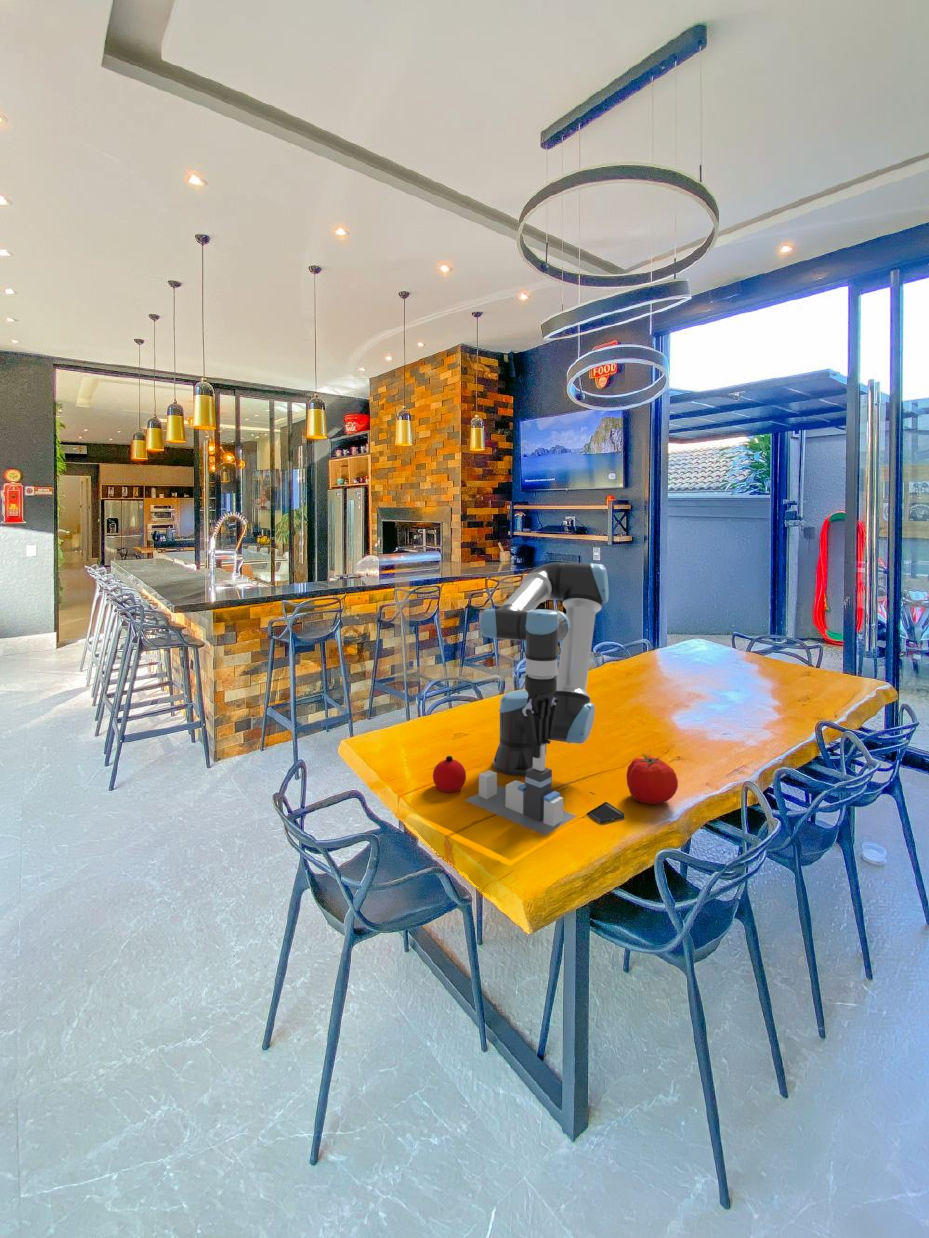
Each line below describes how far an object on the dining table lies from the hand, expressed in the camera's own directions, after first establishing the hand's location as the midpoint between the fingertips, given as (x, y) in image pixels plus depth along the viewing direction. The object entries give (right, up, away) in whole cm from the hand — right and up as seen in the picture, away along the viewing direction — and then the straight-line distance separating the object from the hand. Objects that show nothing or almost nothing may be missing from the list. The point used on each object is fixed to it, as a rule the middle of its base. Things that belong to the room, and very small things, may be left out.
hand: (538, 768), depth 156 cm
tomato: (+31, -11, +13) cm, 35 cm away
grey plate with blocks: (-4, -12, +6) cm, 15 cm away
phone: (+15, -13, +8) cm, 22 cm away
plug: (0, -12, +2) cm, 12 cm away
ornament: (-22, -11, +18) cm, 30 cm away
